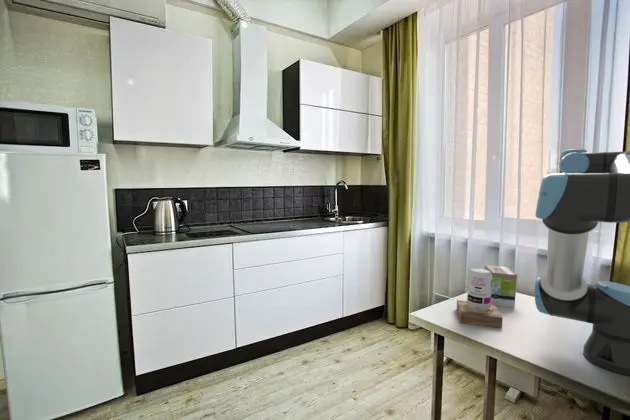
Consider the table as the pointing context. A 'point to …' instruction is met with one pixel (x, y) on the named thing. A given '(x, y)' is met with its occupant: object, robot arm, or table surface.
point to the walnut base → (479, 315)
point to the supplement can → (479, 289)
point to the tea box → (502, 286)
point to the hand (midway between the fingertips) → (566, 250)
